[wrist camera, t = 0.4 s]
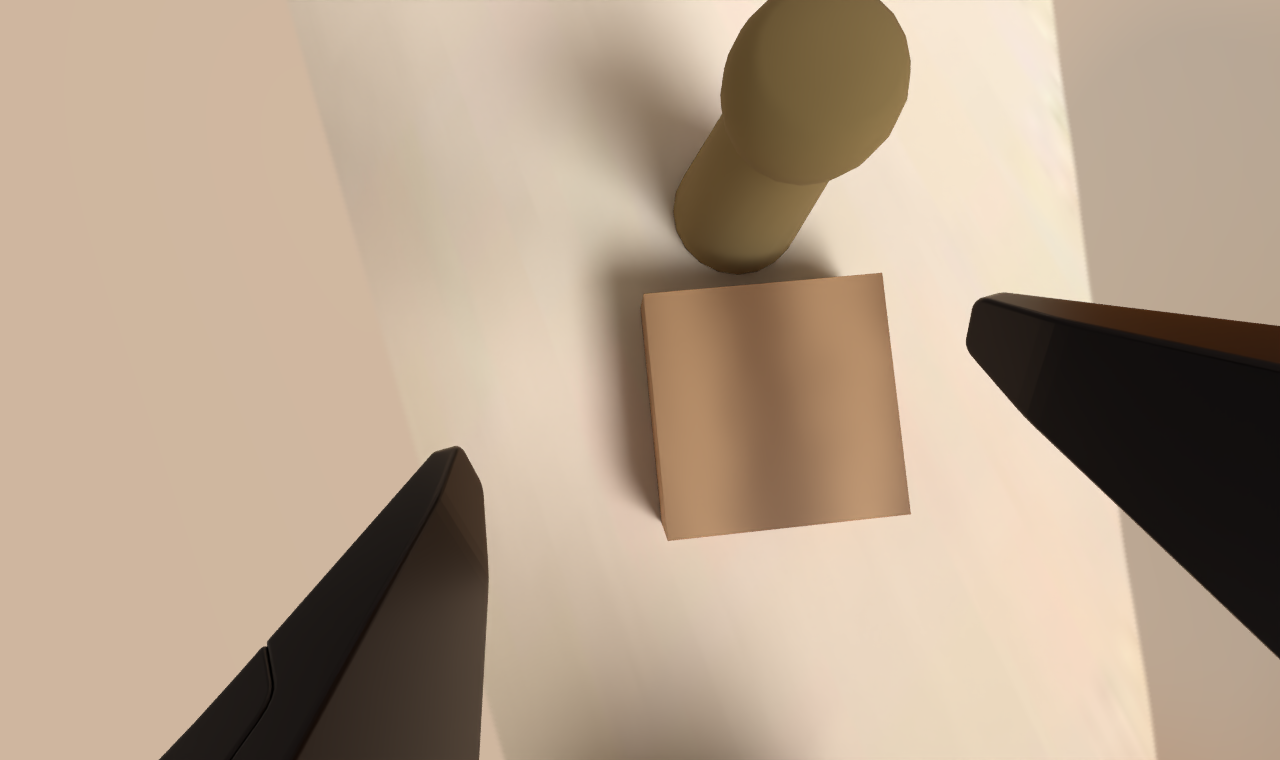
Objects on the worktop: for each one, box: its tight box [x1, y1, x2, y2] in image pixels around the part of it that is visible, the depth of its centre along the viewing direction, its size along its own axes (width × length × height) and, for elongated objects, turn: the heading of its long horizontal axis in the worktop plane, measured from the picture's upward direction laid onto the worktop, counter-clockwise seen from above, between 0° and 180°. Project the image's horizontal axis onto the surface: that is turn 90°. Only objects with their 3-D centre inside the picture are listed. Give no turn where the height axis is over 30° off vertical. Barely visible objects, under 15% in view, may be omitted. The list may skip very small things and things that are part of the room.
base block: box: [641, 273, 911, 541], centre depth 22 cm, size 10×10×3 cm
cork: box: [673, 0, 911, 274], centre depth 18 cm, size 6×6×11 cm
